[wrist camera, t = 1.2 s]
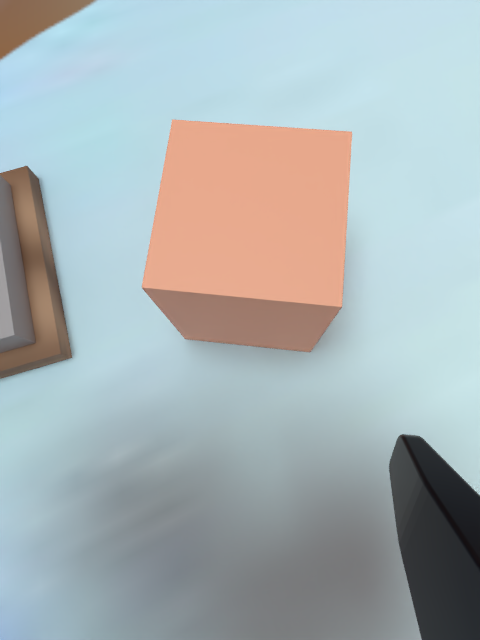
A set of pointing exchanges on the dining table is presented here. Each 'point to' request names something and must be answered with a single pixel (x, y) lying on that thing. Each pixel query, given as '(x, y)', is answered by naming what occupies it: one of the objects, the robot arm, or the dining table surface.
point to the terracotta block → (250, 233)
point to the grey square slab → (12, 280)
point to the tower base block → (36, 280)
